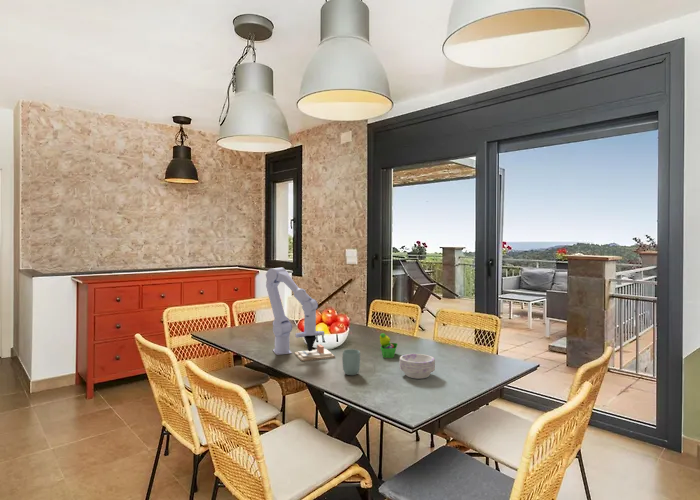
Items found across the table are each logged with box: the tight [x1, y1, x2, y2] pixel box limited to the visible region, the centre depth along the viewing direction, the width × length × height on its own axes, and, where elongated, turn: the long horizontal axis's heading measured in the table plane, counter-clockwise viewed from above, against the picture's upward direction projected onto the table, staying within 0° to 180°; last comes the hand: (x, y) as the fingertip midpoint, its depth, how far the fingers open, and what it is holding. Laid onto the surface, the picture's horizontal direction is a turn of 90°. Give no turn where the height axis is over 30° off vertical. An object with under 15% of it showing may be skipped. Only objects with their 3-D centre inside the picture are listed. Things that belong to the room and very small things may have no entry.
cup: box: [341, 348, 361, 376], centre depth 183 cm, size 8×8×10 cm
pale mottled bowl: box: [399, 353, 436, 380], centre depth 182 cm, size 15×15×8 cm
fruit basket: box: [378, 332, 398, 359], centre depth 214 cm, size 11×9×11 cm
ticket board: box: [293, 349, 336, 362], centre depth 211 cm, size 14×17×2 cm
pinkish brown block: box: [314, 344, 333, 356], centre depth 213 cm, size 10×6×4 cm, turn 22°
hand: (309, 350), depth 210 cm, fingers closed
